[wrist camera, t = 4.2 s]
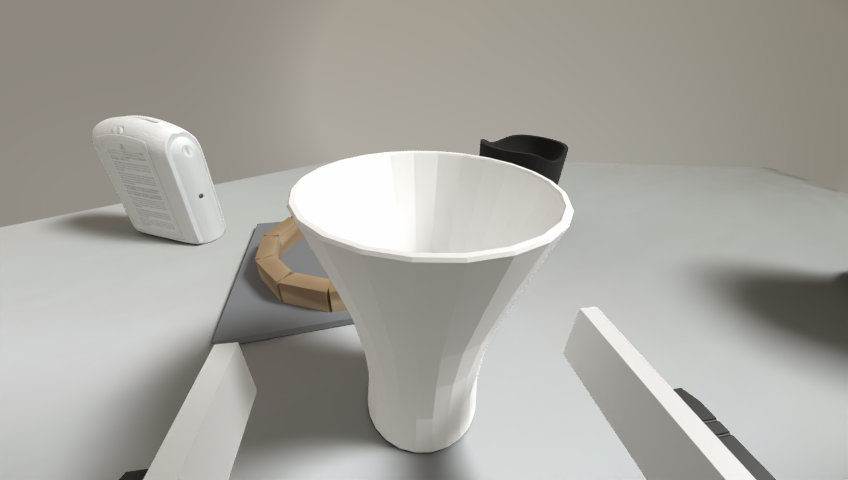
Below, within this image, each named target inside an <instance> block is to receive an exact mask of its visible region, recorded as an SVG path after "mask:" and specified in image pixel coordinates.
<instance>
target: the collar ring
mask: <svg viewBox="0 0 848 480" xmlns="http://www.w3.org/2000/svg"><path fill="white" fill-rule="evenodd" d="M302 237H304V235H303V234H302V232H301V230H300V229H299V227H298V225H297V224H296V222H295V220H294V219H293V217H292V216H291V218H290V217H289V218H287V219H286V220H284V221H283V222H282V223H280V224H279V225H277V226H276V227H274V228H273V229H271V230H270V231H268V232H267V233H266V234H264V236H262V239H261V242H260V245H259V248H258V251H257V254H256V257H255V261H256V264H257V267H258V271H259V274H260V278H261V280H262V281H263V282H264V283H265V284H266V285H267V286H268V287H269V289H270V290H271V291H272V292H273V293H274V294H275V295H276V296H277V297H278V298H279V300H280V301H283V303H288V304H293V305H297V306H302V307H307V308H311V309H316V310H321V311H325V312H329V311H330V310H331V309H332V312H337V311H343V310H347V308H346V306H345V304H344V303H343V301H342V299H341V297H340V296H339V294H338V292H337V290H336V289H335V287H334V285H333V283H332V282H331V280H330V279H326V278H321V277H316V276H311V275H306V274H300V273H295V272H292V271H291V270H290V269H289V268H288V267H287V266H286V265H285V264H284V263H283V262H282V257H283V253H284V252H285V251H286V250H288V249H289V248H290V247H291V246H292V245H294V244H295V243H296V242H297V241H299V240H300V239H301V238H302Z"/></svg>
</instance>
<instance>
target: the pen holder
mask: <svg viewBox="0 0 848 480" xmlns="http://www.w3.org/2000/svg"><path fill="white" fill-rule="evenodd" d="M567 151H568V147H567V145H566V144H564V143H562V142H559V141H556V140H553V139H549V138H544V137H538V136H532V135H512V136H509V137H506V138H504V139H501V140H499V141H496V142H488V141H487V140H484V139H482V140H481V144H480V156H482V157H488V158H492V159H496V160H500V161H504V162H508V163H512V164H515V165H518V166H521V167H523V168H526V169H529V170H532V171H534V172H536V173H538V174H540V175H542V176H544V177H546V178H548V179H549V180H551V181H553V182H554V183H555V184H556V185H558V182H559V178H560V175H561V172H562V168H563V165H564V162H565V158H566V155H567Z"/></svg>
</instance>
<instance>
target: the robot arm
mask: <svg viewBox="0 0 848 480" xmlns="http://www.w3.org/2000/svg"><path fill="white" fill-rule="evenodd" d="M563 354H564V356H565V357H566V359H567V360H568V362H569V363H570V365H571V366H572V368H573V369H574V371H575V372H576V374H577V375H578V377H579V378H580V380H581V381H582V383H583V384H584V386H585V387H586V389H587V390H588V392H589V393H590V395H591V396H592V398H593V399H594V401H595V402H596V404H597V405H598V407H599V408H600V410H601V411H602V413H603V415H604V416H605V418H606V419H607V421H608V422H609V424H610V425H611V427H612V428H613V430H614V431H615V433H616V434H617V436H618V437H619V439H620V440H621V442H622V443H623V445H624V446H625V448H626V449H627V451H628V452H629V454H630V455H631V457H632V458H633V460H634V461H635V463H636V464H637V466H638V467H639V469H640V470H641V472H642V473H643V475H644V476H645V478H646V479H647V480H776V479H775V478H774V477H773V476H772V475H771V474H770V473H769V472H768V471H767V470H766V469H765V468H764V467H763V466H762V465H761V464H760V463H759V462H758V461H757V460H756V459H755V458H754V457H753V456H752V455H751V454H750V453H749V451H748V450H747V449H746V448H745V447H744V446H743V445H742V444H741V443H740V442H739V441H738V440H737V439H736V438H735V437H734V436H733V435H730V433H729V431H728V430H727V429H726V428H725V427H724V426H723V425H722V424H721V423H720V422H718V421H717V420H716V417H715V416H714V415H713V414H712V413H711V412H710V411H709V410H708V409H707V408H706V407H705V406H704V405H703V404H702V403H701V402H700V401H699V400H697V399H696V398H694V397H693V396H692V395H690V394H689V393H687V392H686V391H685V390H683V389H682V388H679V389H672V388H671V387H670V386H669V385H668V383H667V382H666V381H665V380H664V379H663V378H662V377H661V376H660V375H659V374H658V373H657V372H656V370H655V369H654V368H653V367H652V366H651V365H650V364H649V363H648V362H647V361H646V360H645V359H644V357H643V356H642V355H641V354H640V353H639V352H638V351H637V350H636V349H635V348H634V347H633V346H632V344H631V343H630V342H629V341H628V340H627V339H626V338H625V337H624V336H623V335H622V334H621V333H620V331H619V330H618V329H617V328H616V327H615V326H614V325H613V324H612V323H611V322H610V321H609V320H608V318H607V317H606V316H605V315H604V314H603V313H602V312H601V311H600V310H599V309H598V308H597V307H588V308H580V309H579V312H578V315H577V317H576V320H575V323H574V325H573V328H572V331H571V333H570V336H569V339H568V341H567V344H566V347H565V349H564V352H563ZM256 393H257V389H256V386H255V384H254V381H253V379H252V376H251V374H250V371H249V369H248V366H247V363H246V361H245V358H244V356H243V353H242V351H241V348H240V346H239V343H238V342H235V343H225V344H215V345H214V346H213V348H212V350H211V352H210V354H209V356H208V357H207V359H206V361H205V363H204V365H203V367H202V369H201V371H200V373H199V374H198V376H197V378H196V380H195V382H194V384H193V386H192V388H191V390H190V392H189V393H188V395H187V397H186V399H185V401H184V403H183V405H182V407H181V409H180V411H179V412H178V414H177V416H176V418H175V420H174V422H173V424H172V426H171V428H170V430H169V431H168V433H167V435H166V437H165V439H164V441H163V443H162V445H161V447H160V449H159V450H158V452H157V454H156V456H155V458H154V460H153V462H152V464H151V466H150V468H149V469H144V470H137V471H131V472H126V473H125V474H124V475H123V476H122V477H121V478H120V479H119V480H229V476H230V473H231V470H232V467H233V464H234V461H235V458H236V455H237V452H238V449H239V446H240V443H241V440H242V436H243V433H244V430H245V427H246V424H247V421H248V418H249V415H250V412H251V409H252V406H253V403H254V400H255V396H256Z"/></svg>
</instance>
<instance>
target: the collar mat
mask: <svg viewBox="0 0 848 480" xmlns="http://www.w3.org/2000/svg"><path fill="white" fill-rule="evenodd" d="M280 223H282V222H274V223H263V224H257V226H256V229H255V232H254V234H253V237H252V239H251V242H250V244H249V247H248V250H247V252H246V255H245V257H244V260H243V263H242V265H241V268H240V270H239V273H238V276H237V278H236V281H235V283H234V286H233V288H232V291H231V294H230V296H229V299H228V301H227V304H226V307H225V309H224V312H223V314H222V317H221V320H220V322H219V325H218V327H217V330H216V332H215V335H214V338H213V340H212V344H213V346H214V345H215V344H225V343H235V342H238V343H239V344H242V343H247V342H253V341H259V340H264V339H270V338H276V337H281V336H287V335H293V334H298V333H304V332H310V331H315V330H321V329H327V328H332V327H338V326H344V325H349V324H354V322H353V319H352V317H351V315H350V313H349V312H348V310H343V311H337V312H332V309H331V310H330V311H329V312H325V311H321V310H316V309H311V308H307V307H302V306H297V305H293V304H288V303H283V301H280V300H279V298H278V297H277V296H276V295H275V294H274V293H273V292H272V291H271V290H270V289H269V287H268V286H267V285H266V284H265V283H264V282H263V281H262V280H261V278H260V274H259V271H258V267H257V264H256V261H255V257H256V254H257V251H258V248H259V245H260V242H261V239H262V236H264V234H266V233H267V232H268V231H270V230H271V229H273V228H274V227H276V226H277V225H279V224H280ZM282 262H283V263H284V264H285V265H286V266H287V267H288V268H289V269H290V270H291V271H292V272H295V273H300V274H306V275H311V276H316V277H321V278H326V279H330V278H329V276H328V275H327V273H326V272H325V270H324V268H323V267H322V265H321V263H320V262H319V260H318V258H317V257H316V255H315V253H314V252H313V250H312V249H311V247H310V245H309V244H308V242H307V240H306V239H305V237H302V238H301V239H300V240H299V241H297V242H296V243H295V244H294V245H292V246H291V247H290V248H289V249H288V250H286V251H285V252H284V253H283V257H282Z"/></svg>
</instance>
